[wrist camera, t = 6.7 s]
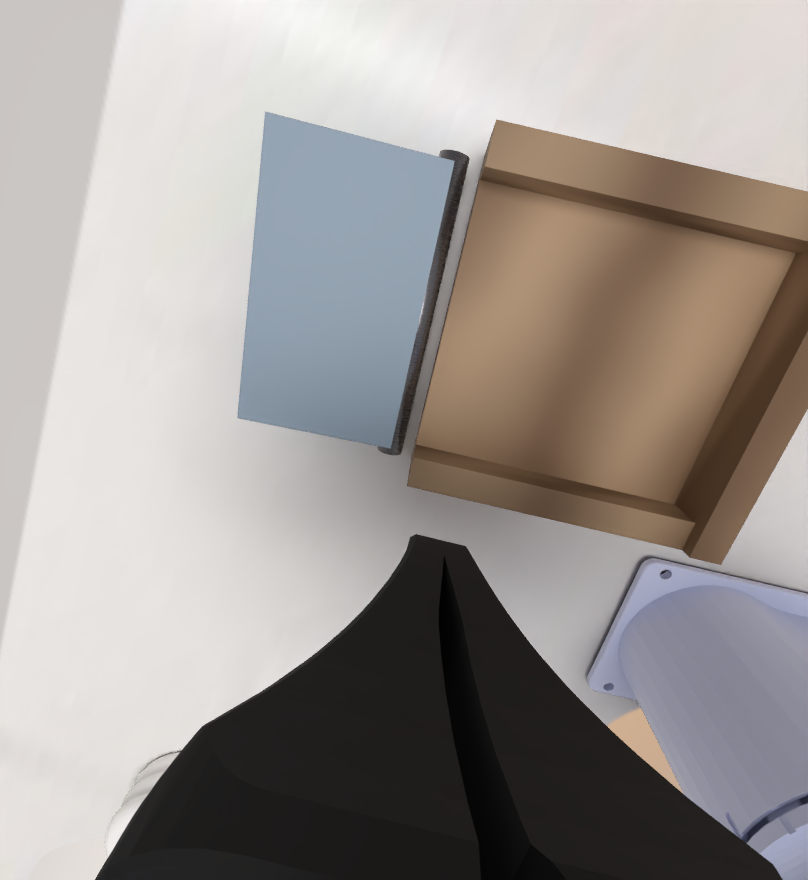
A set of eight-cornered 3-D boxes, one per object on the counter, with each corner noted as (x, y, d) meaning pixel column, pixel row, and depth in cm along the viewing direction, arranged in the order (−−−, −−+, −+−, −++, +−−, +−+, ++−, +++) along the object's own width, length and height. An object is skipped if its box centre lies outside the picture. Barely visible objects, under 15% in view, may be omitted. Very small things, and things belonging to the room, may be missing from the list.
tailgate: (472, 154, 13) (266, 99, 13) (401, 458, 17) (236, 425, 16) (466, 165, 14) (276, 115, 14) (401, 447, 18) (247, 416, 17)
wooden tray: (812, 229, 15) (918, 209, 12) (671, 518, 19) (720, 564, 16) (485, 153, 15) (499, 112, 12) (411, 457, 19) (406, 491, 16)
